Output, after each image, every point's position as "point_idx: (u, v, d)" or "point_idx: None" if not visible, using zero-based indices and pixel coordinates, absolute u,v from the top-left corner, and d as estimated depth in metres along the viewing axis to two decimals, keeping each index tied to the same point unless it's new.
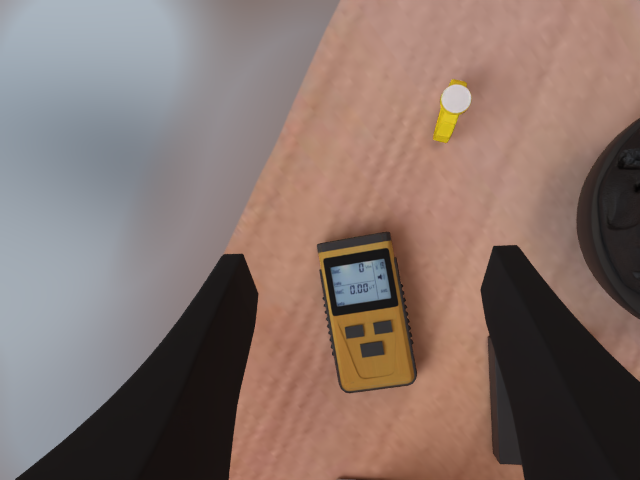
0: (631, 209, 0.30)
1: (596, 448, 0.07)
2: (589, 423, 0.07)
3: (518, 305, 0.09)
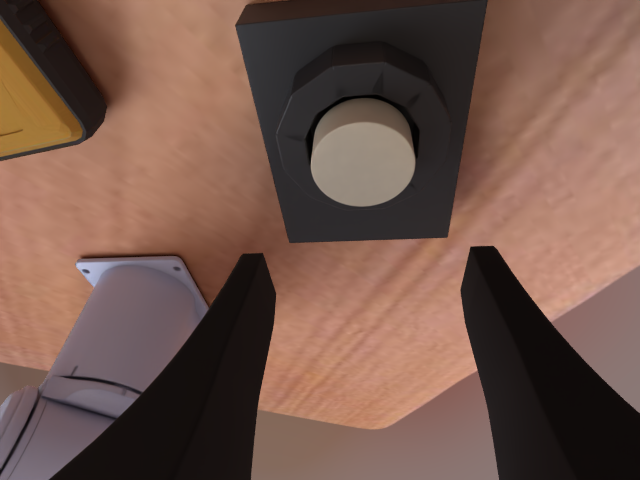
0: None
1: (557, 447, 0.07)
2: (552, 422, 0.07)
3: (491, 305, 0.10)
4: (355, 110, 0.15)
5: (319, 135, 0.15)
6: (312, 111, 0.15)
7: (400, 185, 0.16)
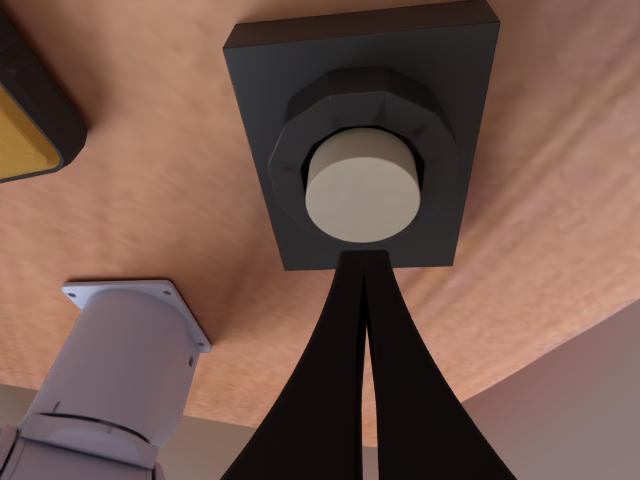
0: None
1: (377, 441, 0.07)
2: (381, 419, 0.07)
3: (368, 307, 0.10)
4: (353, 143, 0.13)
5: (315, 169, 0.14)
6: (307, 142, 0.14)
7: (403, 221, 0.15)
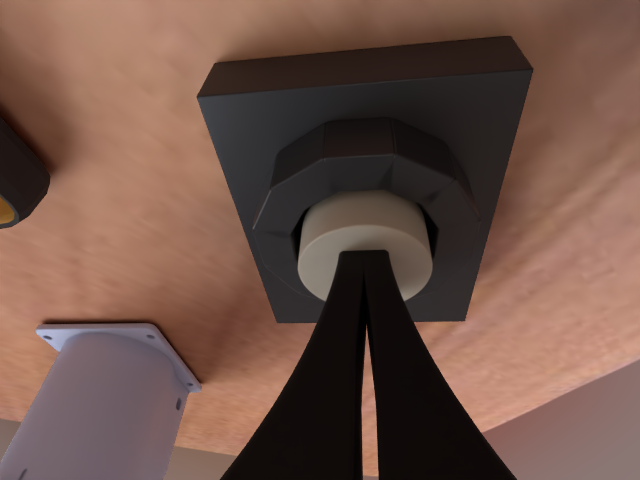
0: None
1: (377, 441, 0.07)
2: (381, 419, 0.07)
3: (368, 307, 0.10)
4: (354, 205, 0.11)
5: (308, 233, 0.12)
6: (298, 207, 0.12)
7: (412, 290, 0.13)
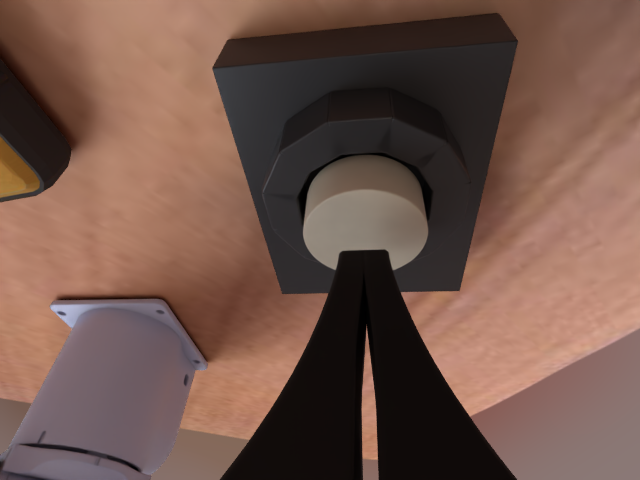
0: None
1: (377, 442, 0.07)
2: (381, 419, 0.07)
3: (368, 307, 0.10)
4: (355, 172, 0.12)
5: (313, 199, 0.13)
6: (304, 170, 0.13)
7: (409, 255, 0.14)
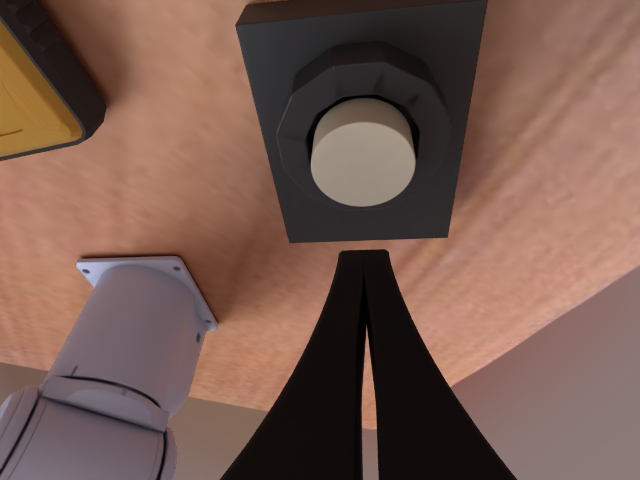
0: None
1: None
2: (381, 419, 0.07)
3: (368, 307, 0.10)
4: (355, 110, 0.15)
5: (319, 135, 0.15)
6: (312, 111, 0.15)
7: (400, 185, 0.16)
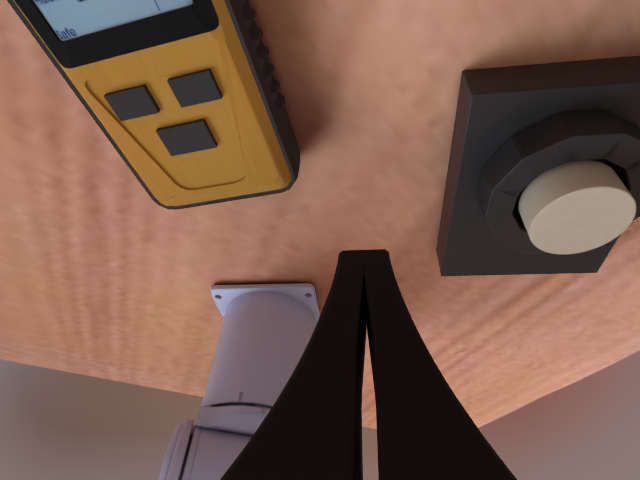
0: None
1: None
2: (381, 419, 0.07)
3: (368, 307, 0.10)
4: (585, 174, 0.16)
5: (546, 194, 0.17)
6: (536, 172, 0.17)
7: (609, 237, 0.17)
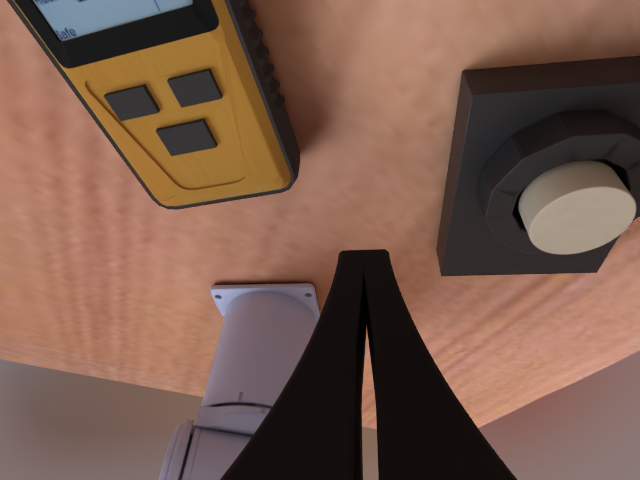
0: None
1: None
2: (381, 419, 0.07)
3: (368, 307, 0.10)
4: (585, 174, 0.16)
5: (546, 194, 0.17)
6: (536, 172, 0.17)
7: (609, 237, 0.17)
